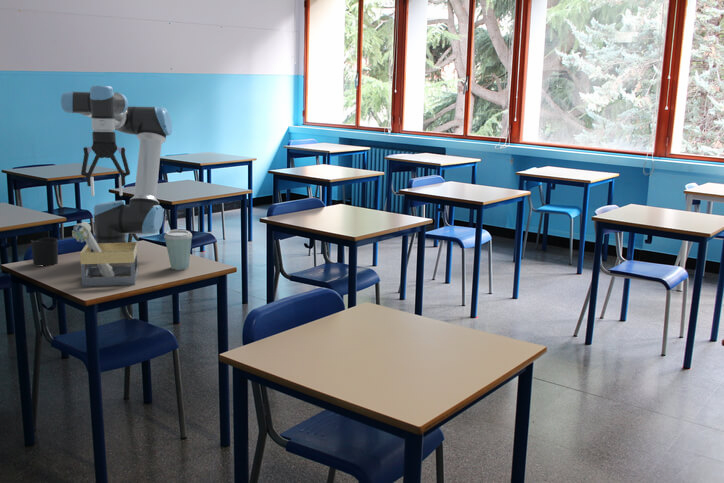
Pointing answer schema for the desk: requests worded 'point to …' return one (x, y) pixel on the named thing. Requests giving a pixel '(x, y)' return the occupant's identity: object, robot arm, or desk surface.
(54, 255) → the pen holder
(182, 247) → the disposable coffee cup
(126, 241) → the robot arm
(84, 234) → the toothbrush head
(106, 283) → the collar stand
